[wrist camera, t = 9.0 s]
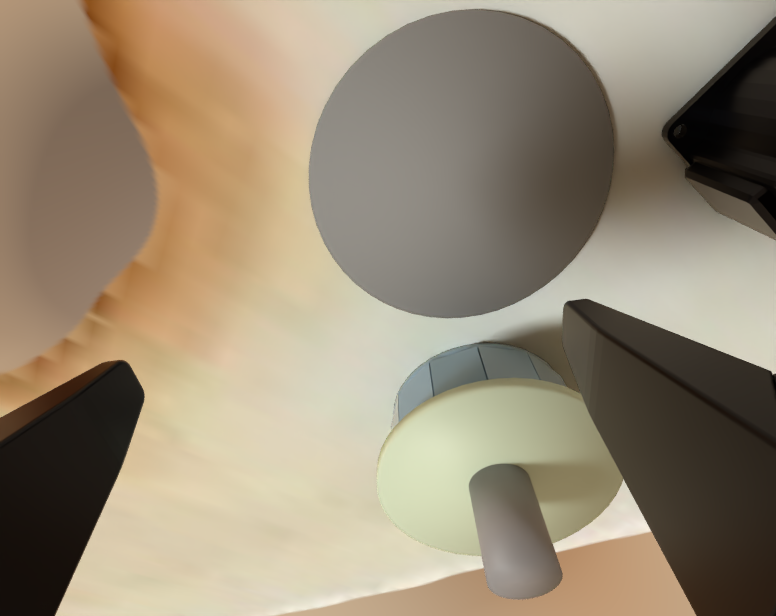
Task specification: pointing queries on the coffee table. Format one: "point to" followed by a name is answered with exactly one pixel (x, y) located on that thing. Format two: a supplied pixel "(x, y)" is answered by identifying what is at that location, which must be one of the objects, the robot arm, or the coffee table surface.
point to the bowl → (468, 372)
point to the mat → (461, 163)
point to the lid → (498, 477)
